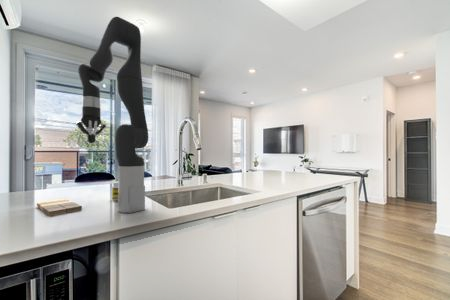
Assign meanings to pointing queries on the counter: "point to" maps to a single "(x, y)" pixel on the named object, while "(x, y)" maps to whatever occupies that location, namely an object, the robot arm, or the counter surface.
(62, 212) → the brown flat square block
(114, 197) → the supplement bottle
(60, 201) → the oak plank
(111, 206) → the counter surface
